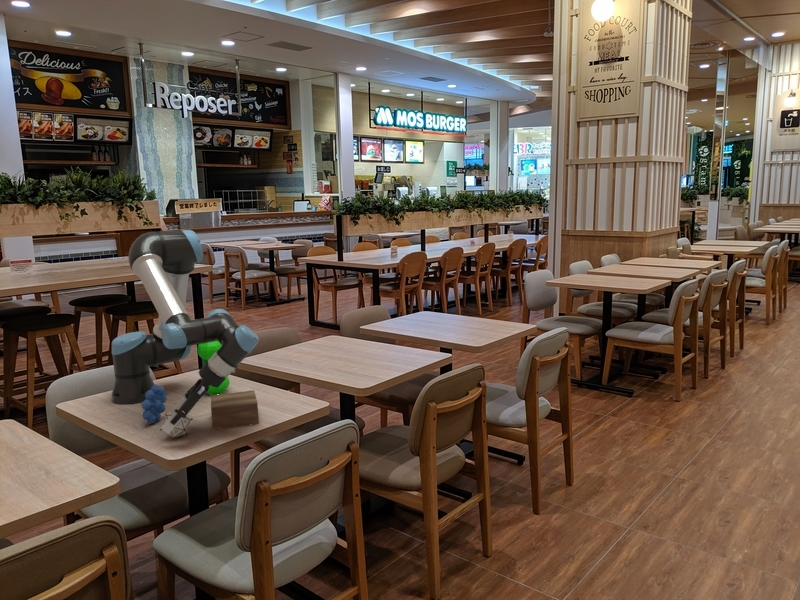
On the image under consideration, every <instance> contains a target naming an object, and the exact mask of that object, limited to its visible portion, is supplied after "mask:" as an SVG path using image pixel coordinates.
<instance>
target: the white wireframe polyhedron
mask: <svg viewBox="0 0 800 600" xmlns="http://www.w3.org/2000/svg"><path fill="white" fill-rule="evenodd" d="M173 414H174V413H172V414H171V413H169V414H168V413H164V416H165V418H164V422H163V425H164V424H165V423H166V422H167V421H168V420H169V419H170V417H171V416H172V415H173ZM193 420H194V418H189V417H188V416H187V415H186V417H185V418H183V419H182V420H181V421H180V422H179V423H178V424H177V425H176V426H175V427H174V428H173V430H172V431H171V432H170V433H169V434H168V436H170V437H172V439H171V441H174V440H175V438H178V437H181V436H183V435H186V436H189V433H188V430H189V427H190V423H191V421H193ZM159 431H163V430H162V429H161V428H160V429H159Z"/></svg>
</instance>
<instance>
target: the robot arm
mask: <svg viewBox="0 0 800 600" xmlns="http://www.w3.org/2000/svg"><path fill="white" fill-rule="evenodd" d="M203 254H204V251H203V246H202V243H201V240H200V237H199V236H198V234H197V233H196V232H195V231H193V230H192V229H179V230H177V229H176V230H166V231H165V230H164V231H163V230H162V231H149V232H148V231H147V232H145V233H142V234H141V235H139V236H138V237H137V238H136V239H135V240H134V241H133V242H132V244H131V245H130V248H129V252H128V263H129V267H130V269H131V271H132V273H133V274H134V275H135V276H136V277H138V278H139V279H140V281H141V283H142V285H143V287H144V289H145V291H146V292H147V294H148V296H149V298H150V300H151V302H152V304H153V305H154V308H155V310H156V312H157V314H158V323H156V324H155V325H154V326H153V329H152V333H149V334H147V333H146V331H135V332H134V331H132V332H128V333H127V332H126V333H124V334H121V335H118V336H117V337H115V338H114V339H112V342H111V355H112V363H113V370H114V371H113V372H114V383H113V387H112V391H111V401H112V402H113V403H115V404H119V405H123V404H124V405H125V404H126V405H128V404H129V405H131V404H136V403H143V401H144V400H146V397H145V394H146V392H147V391H148V390H151V388H152V386H153V385H156V384H155V382H154V379H152V376H151V373H150V372H151V371H150V367H153V366H158V365H163V364H169V363H175V362H178V361H181V360H185V359H186V358H187V357H188V356H190V353H191V350H192V347H193V346H196V345H197V346H198V345H199V344H202V343H209V342H214V341H219V343H220V344H221V345H222V346H221V347H220V348H219V350H218V351H216V352H215V354H214V355H213V356H212V357H211V358H210V359H209V360H208V363H206V364H205V365H204V366H203V365H202V367H201V368H200V369H199V370H198V374H199V376H200V378H199V379H197V380H196V382H195V383H194V384H193V385H192V386H191V387H190V388H189V389H188V390H186V391H187V392H186V393H185V394H184V396H182V398H180V400H179V401H178V402H177V403H176V404H175V405H174V406H173V407H172V408H171V410H169V414H172V413H174V414H173V415H172V416H171V417H170V419H169V420H168V421H167V422H166V423H165V424H164V423H163V425H162V426H161V427H160V429H162V430H161V431H163V432H165V433H166V434H168V435H169V433H170V432H171V431H172V430H173V428H174V427H175V426H176V425H177V424H178V423H179V422H180V421H181V420H182V419H183V418H185V417H186V416H187V415H188V414H189V413H190V412H191V410H193V409H194V407H195V405H197V404H198V402H199V400H201V399H202V398H203V396H204V395H205V394H207V391H208V388H209V385H211V386H213V387H219V386H220V385H221V384H222V383H223V381H224V380H225V377H228V378H229V376H230V375H231V374H232V373H233V374H234V373H235V372H236V368H237V367H238V366H239V365H240V364H241V363H242V361H244V359H245V358H246V357H247V356H248V355H250V354H251V352H252V351H253V349H255V348H256V346H257V345H258V343H259V342H260V340H259V336H258V335H257V333H255V332H254V331H253V330H252V329H251V328H250V327H248V326H247V325H245V324H241V325H238V324H237V322H236V321H235V318H234V317H233V316H232V315H230V313H229V312H228V311H226V310H225V309H223V308H217V309H214V310H213V311H210V312H209V313H208V314H207V315H206V317H204V318H196V319H192V318H191V317H190V315H189V314H188V311H187V310H186V303H187V293H188V285H189V278H190V274H192V273H193V272H194V271H195V264H199V263H200V262H202V261H203V258H204V257H203V256H204V255H203Z"/></svg>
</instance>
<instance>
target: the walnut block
mask: <svg viewBox="0 0 800 600" xmlns="http://www.w3.org/2000/svg"><path fill="white" fill-rule="evenodd" d="M210 413H211V423H212V424H211V425H212V430H213V429H215V430H220V429H219V428H223V429H228V428H227V427H230V428H235V427H234V426H238V427H242V426H241V425H245V426H251V425H250V424H253V425H258V424H260V421H259V418H260V417H259V407H258V400H257V396H256V392H255V390H254V389H253V390H246V391H238V392H237V391H236V392H230V393H222V394H219V395H210Z"/></svg>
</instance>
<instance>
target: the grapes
mask: <svg viewBox="0 0 800 600" xmlns="http://www.w3.org/2000/svg"><path fill="white" fill-rule="evenodd" d="M165 392H166V391H165V387H164V386H162V385H160V386H159V385H158V384H155V385H153V386H152V388H151V390H148V391H147V392H146V394H145V397H146V400H144V401H143V402H141V408H142V409H143V412H142V413H141V416H142V418H143V419H144V420H145V421H146V423H147V424H149V425H151V424H153V423H155V422H159V420H161V417H162V414H163V413H164V412H165V411H166V405H165V404H164V403H166V402H167V400H168V397H167V394H165Z"/></svg>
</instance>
